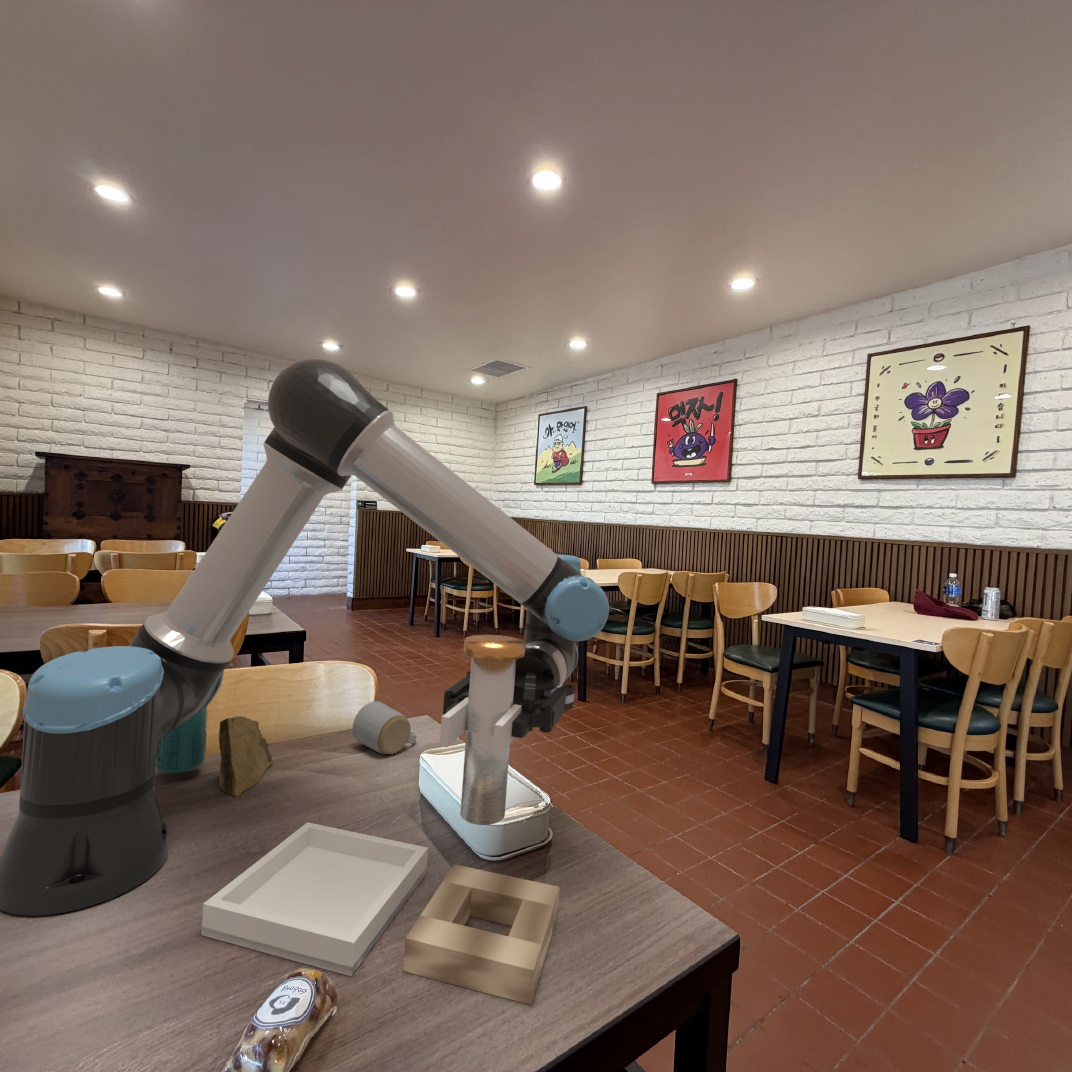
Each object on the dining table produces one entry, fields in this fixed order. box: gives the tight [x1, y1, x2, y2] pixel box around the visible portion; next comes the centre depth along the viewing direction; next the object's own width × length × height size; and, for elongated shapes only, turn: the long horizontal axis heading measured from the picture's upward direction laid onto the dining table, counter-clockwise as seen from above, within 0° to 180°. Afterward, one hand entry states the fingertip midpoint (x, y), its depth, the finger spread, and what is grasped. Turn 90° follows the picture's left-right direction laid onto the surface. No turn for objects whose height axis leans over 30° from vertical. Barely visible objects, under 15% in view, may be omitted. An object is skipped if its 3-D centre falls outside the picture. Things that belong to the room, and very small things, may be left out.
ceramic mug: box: [352, 700, 418, 755], centre depth 102 cm, size 11×8×8 cm
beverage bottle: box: [155, 706, 209, 774], centre depth 86 cm, size 6×7×20 cm
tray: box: [200, 822, 429, 977], centre depth 60 cm, size 16×16×3 cm
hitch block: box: [402, 864, 561, 1006], centre depth 56 cm, size 12×12×3 cm
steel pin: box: [459, 634, 525, 826], centre depth 56 cm, size 6×6×17 cm
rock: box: [218, 715, 274, 797], centre depth 86 cm, size 11×9×10 cm
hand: (470, 736), depth 51 cm, fingers closed on steel pin, 4 cm apart
